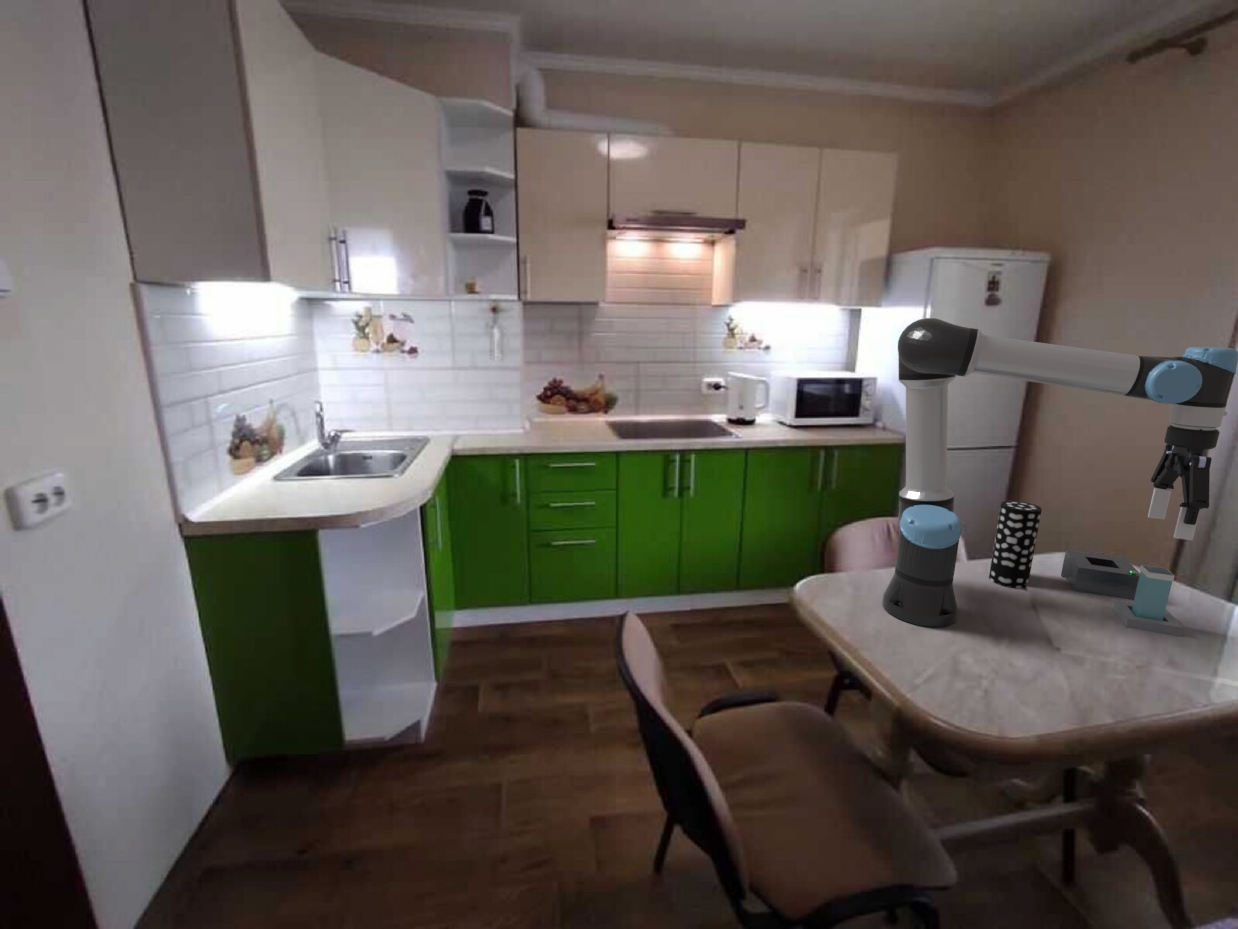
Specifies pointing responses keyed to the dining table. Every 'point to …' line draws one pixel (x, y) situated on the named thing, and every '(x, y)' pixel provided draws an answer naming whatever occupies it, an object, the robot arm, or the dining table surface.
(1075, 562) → the port
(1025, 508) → the spotted tube
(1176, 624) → the square frame socket
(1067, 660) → the dining table surface
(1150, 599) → the plug
